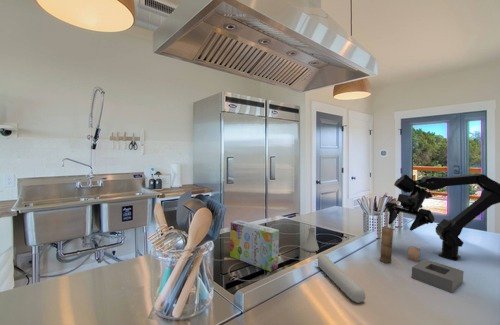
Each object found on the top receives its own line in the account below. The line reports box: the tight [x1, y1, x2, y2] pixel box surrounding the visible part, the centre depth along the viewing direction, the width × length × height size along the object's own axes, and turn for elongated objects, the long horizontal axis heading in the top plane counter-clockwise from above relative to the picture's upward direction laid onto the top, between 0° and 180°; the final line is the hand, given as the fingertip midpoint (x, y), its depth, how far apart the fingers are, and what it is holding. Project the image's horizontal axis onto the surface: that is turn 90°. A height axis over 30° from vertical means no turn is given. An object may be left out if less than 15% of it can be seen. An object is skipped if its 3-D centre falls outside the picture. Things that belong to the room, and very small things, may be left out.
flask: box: [302, 226, 320, 253], centre depth 117 cm, size 7×7×10 cm
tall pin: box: [379, 226, 394, 265], centre depth 106 cm, size 4×4×14 cm
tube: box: [316, 253, 366, 304], centre depth 88 cm, size 5×5×25 cm
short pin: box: [407, 245, 421, 263], centre depth 109 cm, size 4×4×5 cm
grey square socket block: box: [411, 258, 465, 293], centre depth 92 cm, size 12×12×4 cm
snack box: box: [229, 219, 280, 273], centre depth 103 cm, size 21×6×15 cm, turn 52°
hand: (399, 227), depth 110 cm, fingers open, 9 cm apart
